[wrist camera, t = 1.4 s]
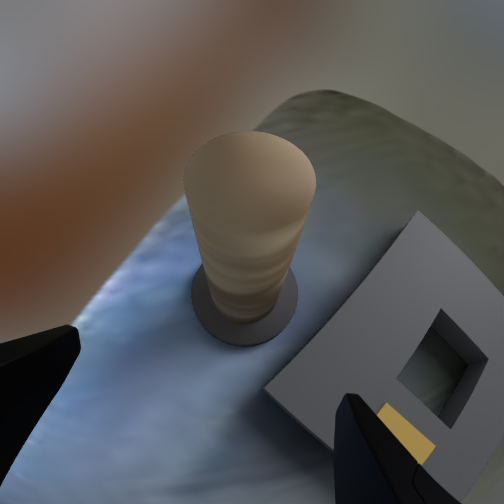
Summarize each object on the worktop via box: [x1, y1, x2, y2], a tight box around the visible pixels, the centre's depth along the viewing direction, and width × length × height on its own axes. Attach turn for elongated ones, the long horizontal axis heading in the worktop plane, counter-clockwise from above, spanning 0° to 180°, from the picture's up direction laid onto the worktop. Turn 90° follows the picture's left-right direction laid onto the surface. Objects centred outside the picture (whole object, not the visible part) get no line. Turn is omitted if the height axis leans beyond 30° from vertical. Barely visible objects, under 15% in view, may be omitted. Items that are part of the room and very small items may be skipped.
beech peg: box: [183, 131, 316, 324], centre depth 17 cm, size 5×5×13 cm
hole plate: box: [261, 210, 504, 503], centre depth 20 cm, size 20×20×3 cm
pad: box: [192, 264, 298, 346], centre depth 23 cm, size 8×8×1 cm
